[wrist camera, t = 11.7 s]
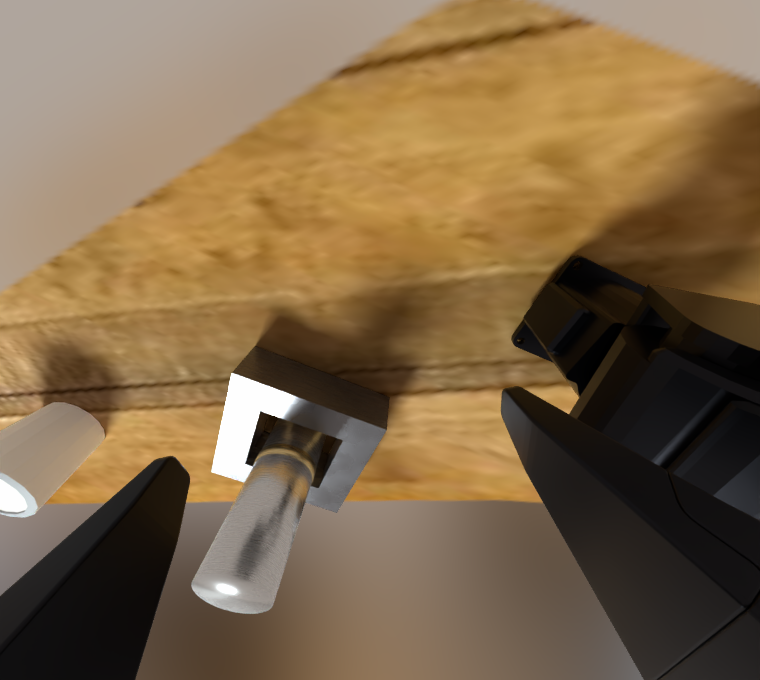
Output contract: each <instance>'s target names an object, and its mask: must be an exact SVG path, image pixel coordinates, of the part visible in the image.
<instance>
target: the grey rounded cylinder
mask: <svg viewBox="0 0 760 680" xmlns="http://www.w3.org/2000/svg"><path fill="white" fill-rule="evenodd" d="M326 435H327V434H324V433H321V432H318V431H315V430H313V429H310V428H307V427H304V426H301V425H299V424H296V423H293V422H290V421H287V420H285V419H282V418H278V420H277V421H276V423H275V425H274V427H273V429H272V431H271V433H270V435H269V437H268V439H267V440H266V442H265V444H264V446H263V448H262V450H261V451H260V452H259V454H258V456H257V458H256V460H255V462H254V464H253V467H252V469H251V471H250V473H249V475H248V477H247V478H246V480H245V482H244V484H243V486H242V488H241V490H240V492H239V494H238V496H237V497H236V499H235V501H234V503H233V505H232V507H231V509H230V511H229V513H228V515H227V516H226V518H225V520H224V522H223V524H222V526H221V528H220V530H219V532H218V534H217V536H216V537H215V539H214V541H213V543H212V545H211V547H210V549H209V551H208V553H207V554H206V556H205V558H204V560H203V562H202V564H201V566H200V568H199V570H198V572H197V574H196V575H195V577H194V579H193V581H192V589H193V591H194V592H195V593H196V594H197V595H198V596H199V597H200V598H201V599H203V600H204V601H206V602H208V603H210V604H212V605H214V606H216V607H219V608H222V609H225V610H228V611H232V612H237V613H246V614H254V613H262V612H265V611H268V610H269V609H271V608H272V606H273V604H274V600H275V597H276V594H277V590H278V587H279V585H280V581H281V578H282V575H283V572H284V569H285V565H286V562H287V559H288V556H289V553H290V550H291V546H292V543H293V540H294V537H295V534H296V530H297V527H298V524H299V521H300V518H301V515H302V511H303V508H304V505H305V502H306V499H307V496H308V492H309V489H310V486H311V484H312V482H313V479H314V476H315V472H316V467H317V464H318V461H319V457H320V454H321V451H322V448H323V445H324V442H325V438H326Z"/></svg>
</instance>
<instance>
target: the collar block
mask: <svg viewBox="0 0 760 680" xmlns="http://www.w3.org/2000/svg"><path fill="white" fill-rule="evenodd" d="M389 398H390V397H387V396H385V395H382V394H380V393H377V392H374V391H372V390H369V389H366V388H364V387H361V386H359V385H356V384H353V383H351V382H348V381H345V380H343V379H340V378H338V377H335V376H332V375H330V374H327V373H325V372H322V371H319V370H317V369H314V368H311V367H309V366H306V365H304V364H301V363H298V362H296V361H293V360H291V359H288V358H285V357H283V356H280V355H277V354H275V353H272V352H270V351H267V350H264V349H262V348H259V347H257V346H255V347H254V348H253V349H252V350H251V351H250V353H249V354H248V355H247V356H246V357H245V358H244V360H243V361H242V362H241V363H240V364H239V365H238V366H237V368H236V369H235V370H234V371H233V372H232V375H231V380H230V384H229V389H228V394H227V399H226V404H225V409H224V414H223V418H222V423H221V428H220V433H219V438H218V443H217V447H216V452H215V457H214V462H213V467H212V472H213V473H216V474H220V475H223V476H226V477H229V478H232V479H235V480H238V481H241V482H245V480H246V478H247V477H248V475H249V473H250V471H251V469H252V467H253V464H254V462H255V460H256V458H257V456H258V454H259V452H260V451H261V450H262V448H263V446H264V444H265V442H266V440H267V439H268V437H269V435H270V433H267V432H264V431H263V430H264V426H265V423H266V420H267V417H268V414H271V415H273V416H276V417H279V418H282V419H285V420H287V421H290V422H293V423H296V424H299V425H301V426H304V427H307V428H310V429H313V430H315V431H318V432H321V433H324V434H327V435H329V436H332V437H335V438H336V439H335V442H334V444H333V446H332V448H331V450H330V452H329V454H327V453H324V452H321V454H320V457H319V461H318V464H317V467H316V472H315V476H314V479H313V482H312V484H311V486H310V489H309V492H308V496H307V499H306V502H305V503H308V504H312V505H314V506H317V507H321V508H324V509H327V510H330V511H333V512H336V513H337V512H338V510H339V508H340V507H341V505H342V503H343V502H344V500H345V498H346V497H347V495H348V493H349V492H350V490H351V488H352V487H353V485H354V483H355V482H356V480H357V478H358V477H359V475H360V473H361V472H362V470H363V468H364V467H365V465H366V463H367V462H368V460H369V458H370V457H371V455H372V453H373V452H374V450H375V448H376V447H377V445H378V444H379V442H380V440H381V439H382V437H383V435H384V434H385V432H386V430H387V420H388V409H389Z"/></svg>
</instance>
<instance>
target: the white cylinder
mask: <svg viewBox="0 0 760 680" xmlns="http://www.w3.org/2000/svg"><path fill="white" fill-rule="evenodd" d="M104 439H105V432H104V429H103V427H102V426H101V424H100V423H99V421H98V420H96V419H95V418H94V417H93V416H92V415H91V414H90V413H88V412H86V411H85V410H83V409H81V408H79V407H78V406H75V405H71V404H68V403H65V402H53V403H51V404H49V405H46V406H45V407H43V408H41V409H39V410H37V411H35V412H34V413H32V414H30V415H28V416H26V417H25V418H23V419H21V420H19V421H17V422H16V423H14V424H12V425H10V426H8V427H6V428H5V429H3V430H1V431H0V514H2V515H7V516H11V517H27V516H30V515H34V514H35V513H36V512H37V511H38V510H39V509H40V508H41V507H42V506H43V505H44V504H45V502H46V501H47V500H48V499H49V498H50V497H51V496H52V495H53V494H54V493H55V492H56V491H57V490H58V489H59V488H60V487H61V486H62V484H63V483H64V482H65V481H66V480H67V479H68V478H69V477H70V476H71V475H72V474H73V473H74V472H75V471H76V470H77V469H78V468H79V466H80V465H81V464H82V463H83V462H84V461H85V460H86V459H87V458H88V457H89V456H90V455H91V454H92V453H93V452H94V451H95V450H96V448H97V447H98V446H99V445H100V444H101V443H102V442H103V440H104Z"/></svg>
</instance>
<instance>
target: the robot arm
mask: <svg viewBox="0 0 760 680" xmlns="http://www.w3.org/2000/svg"><path fill="white" fill-rule="evenodd" d="M578 261H579V263H580V264H579V266H578V267H576V268H573V266H574V264H575V263H576V262H578ZM519 338H523V339H522V340H521V341H517V340H518V339H519ZM511 340H512V342H513V344H514V345H515V346H516V347H518V348H520V349H523V350H525V351H527V352H530V353H532V354H534V355H537V356H539V357H542V358H544V359H546V360H549V361H551V362H553V363H554V364H555V365H556V366H557V368H558V369H559V371H560V372H561V373H562V375H563V376H564V377H565V379H566V380H567V382H568V383H569V384H570V386H571V387H572V388H573V390H574V391H575V393H576V394H577V395H578V397H579V399H578V401H577V402H576V404H575V406H574V407H573V409H572V410H571V412H570V414H567V413H565V412H564V411H562V410H560V409H558V408H557V407H555V406H553V405H551V404H550V403H548V402H546V401H544V400H543V399H541V398H539V397H537V396H535V395H534V394H532V393H530V392H528V391H527V390H525V389H523V388H521V387H519V386H514V387H509V388H505V389H503V391H502V400H501V414H502V418H503V420H504V423H505V425H506V427H507V430H508V432H509V434H510V437H511V439H512V441H513V444H514V446H515V448H516V450H517V453H518V455H519V457H520V460H521V462H522V464H523V466H524V469H525V471H526V473H527V474H528V476H529V478H530V480H531V482H532V484H533V485H534V487H535V489H536V491H537V492H538V494H539V496H540V498H541V499H542V501H543V503H544V504H545V506H546V508H547V510H548V512H549V513H550V515H551V517H552V519H553V520H554V522H555V524H556V526H557V528H558V529H559V531H560V533H561V534H562V536H563V538H564V540H565V542H566V543H567V545H568V547H569V549H570V550H571V552H572V554H573V556H574V557H575V559H576V561H577V563H578V564H579V566H580V568H581V570H582V571H583V573H584V575H585V577H586V578H587V580H588V582H589V584H590V585H591V587H592V589H593V591H594V593H595V594H596V596H597V598H598V600H599V601H600V603H601V605H602V606H603V608H604V610H605V612H606V614H607V616H608V617H609V619H610V621H611V622H612V624H613V626H614V628H615V630H616V631H617V633H618V635H619V636H620V638H621V640H622V642H623V644H624V645H625V647H626V649H627V651H628V653H629V654H630V656H631V658H632V660H633V661H634V663H635V665H636V667H637V668H638V670H639V672H640V674H641V675H642V677H643V679H644V680H760V305H757V304H753V303H748V302H742V301H737V300H732V299H726V298H721V297H716V296H710V295H705V294H700V293H694V292H689V291H684V290H678V289H673V288H668V287H662V286H657V285H651V284H649V285H648V286H647V288H646V287H644V286H642V285H640V284H638V283H636V282H634V281H632V280H630V279H627V278H625V277H623V276H621V275H619V274H617V273H615V272H613V271H611V270H609V269H607V268H604V267H602V266H600V265H598V264H596V263H594V262H592V261H590V260H588V259H586V258H584V257H582V256H578V255H577V256H573V257H571V258H570V259H569V260H568V261H567V262H566V263H565V265H564V266H563V268H562V269H561V270H560V272H559V273H558V274H557V276H556V277H555V278H554V280H553V281H552V282H551V283H550V284H548V285H547V286H546V287H545V288H544V290H543V291H542V292H541V294H540V295H539V297H538V298H537V299H536V301H535V302H534V303H533V305H532V306H531V308H530V309H529V310H528V312H527V313H526V314H525V316H524V321H523V322H522V323H521V325H520V326H519V327H518V329H517V330H516V331H515V333H514V334H513V336H512V338H511ZM189 484H190V476H189V473H188V472H187V471H186V469H185V468H184V467H183V466H182V465H181V463H180V462H179V461H178V460H177V459H176V458H175V457H173V456H168V457H163V458H158V459H156V460H154V461H153V462H152V463H151V464H150V465H148V466H147V467H146V468H145V469H144V470H143V471H142V472H140V473H139V474H138V475H137V476H136V477H135V478H134V479H132V480H131V481H130V482H129V483H128V484H127V485H126V486H125V487H123V488H122V489H121V490H120V491H119V492H118V493H117V494H115V495H114V496H113V497H112V498H111V499H110V500H109V501H108V502H106V503H105V504H104V505H103V506H102V507H101V508H100V509H98V510H97V511H96V512H95V513H94V514H93V515H92V516H90V517H89V518H88V519H87V520H86V521H85V522H84V523H83V524H81V525H80V526H79V527H78V528H77V529H76V530H75V531H73V532H72V533H71V534H70V535H69V536H68V537H67V538H66V539H64V540H63V541H62V542H61V543H60V544H59V545H58V546H57V547H55V548H54V549H53V550H52V551H51V552H50V553H48V554H47V555H46V556H45V557H44V558H43V559H42V560H41V561H39V562H38V563H37V564H36V565H35V566H34V567H33V568H32V569H30V570H29V571H28V572H27V573H26V574H25V575H24V576H22V577H21V578H20V579H19V580H18V581H17V582H16V583H15V584H13V585H12V586H11V587H10V588H9V589H8V590H6V591H5V592H4V593H3V594H2V595H1V596H0V680H135V679H136V676H137V672H138V669H139V666H140V662H141V659H142V656H143V653H144V649H145V646H146V643H147V640H148V636H149V633H150V629H151V627H152V623H153V620H154V616H155V614H156V611H157V607H158V604H159V600H160V597H161V594H162V591H163V588H164V584H165V581H166V578H167V574H168V571H169V568H170V565H171V561H172V558H173V555H174V552H175V548H176V545H177V541H178V537H179V533H180V528H181V523H182V518H183V514H184V509H185V504H186V499H187V494H188V489H189Z"/></svg>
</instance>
